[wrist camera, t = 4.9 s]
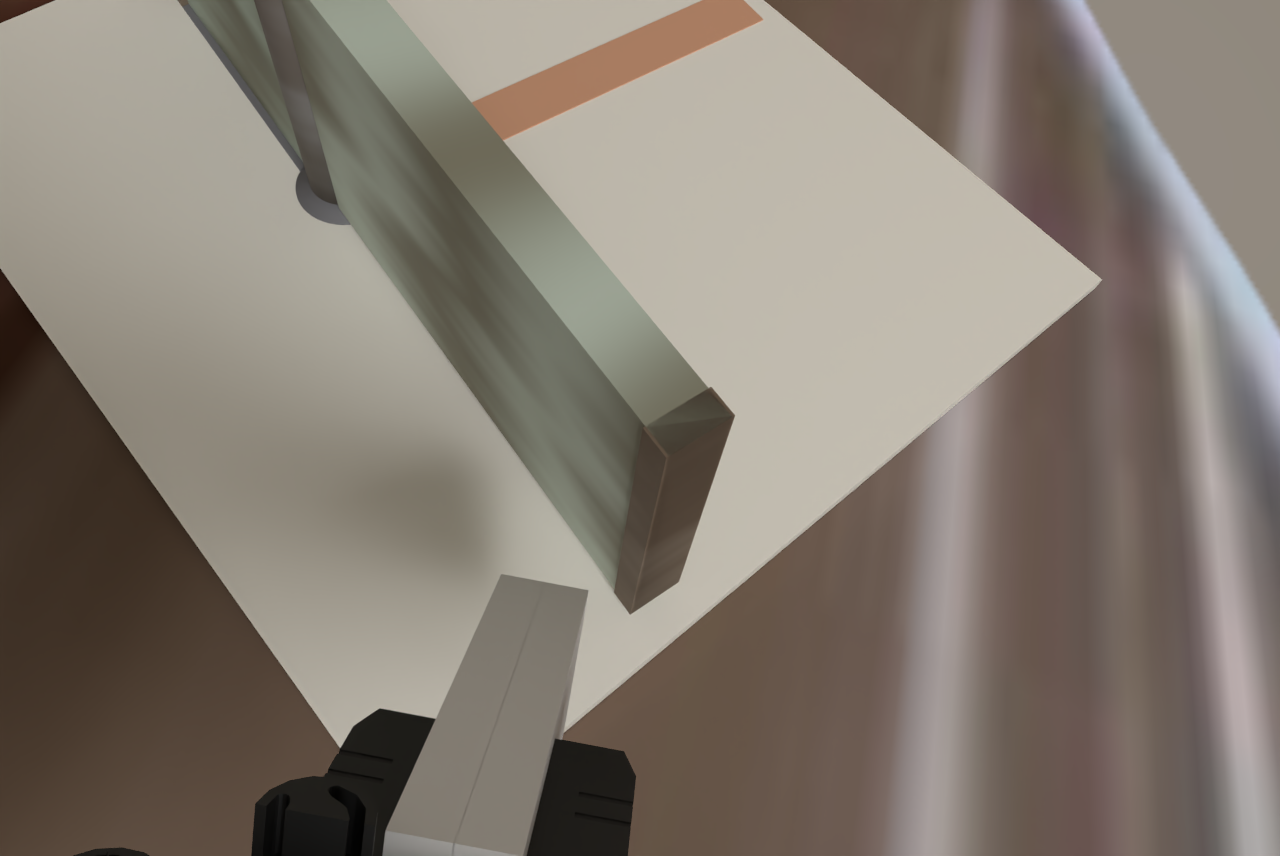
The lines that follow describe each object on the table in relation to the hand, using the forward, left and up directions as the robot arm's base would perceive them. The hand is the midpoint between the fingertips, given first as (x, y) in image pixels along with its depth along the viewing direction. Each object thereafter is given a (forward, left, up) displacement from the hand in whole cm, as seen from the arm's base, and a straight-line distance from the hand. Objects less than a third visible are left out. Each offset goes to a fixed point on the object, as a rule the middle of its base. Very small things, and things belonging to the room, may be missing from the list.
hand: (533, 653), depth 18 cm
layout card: (-12, +8, -5) cm, 15 cm away
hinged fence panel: (-7, +4, -4) cm, 9 cm away
